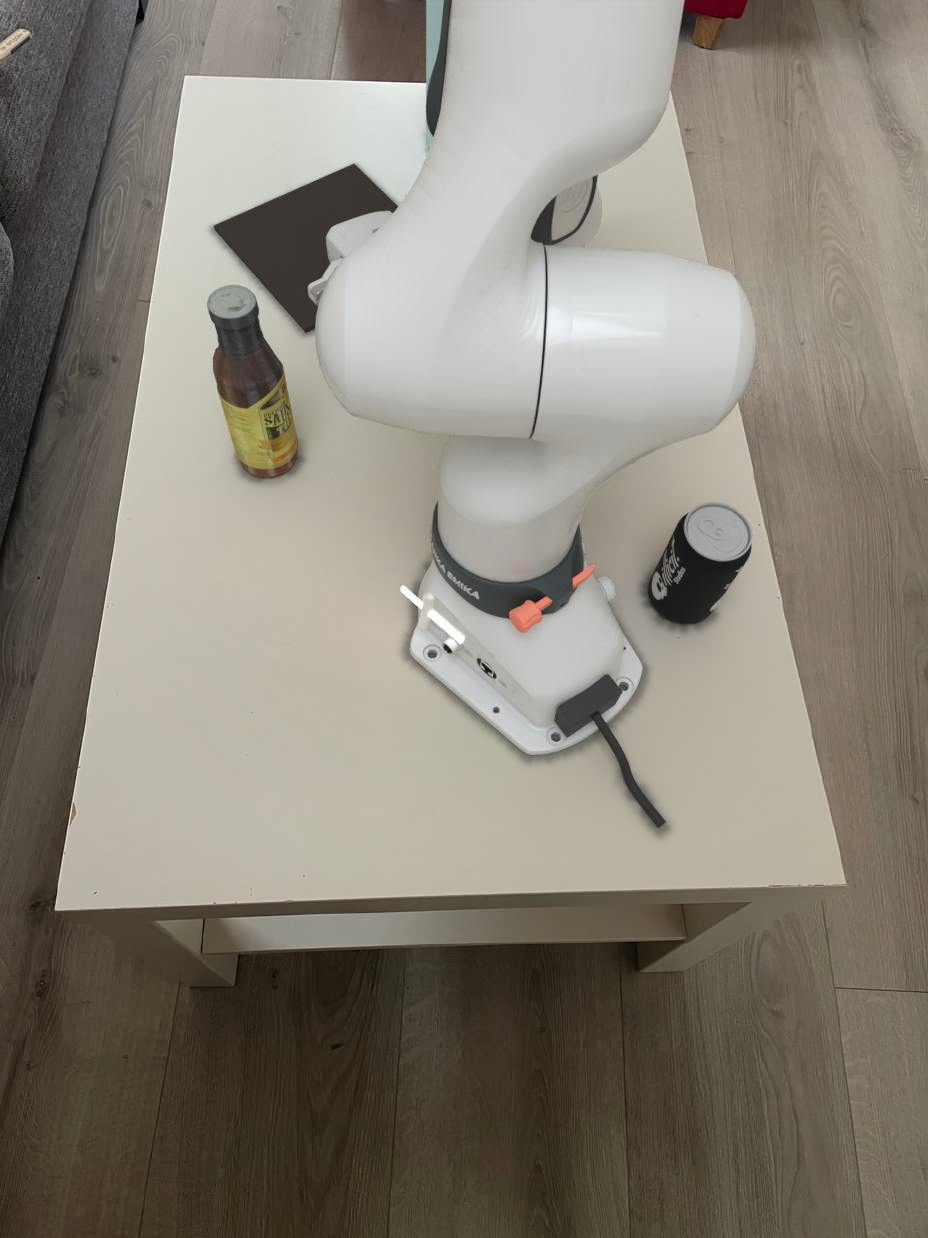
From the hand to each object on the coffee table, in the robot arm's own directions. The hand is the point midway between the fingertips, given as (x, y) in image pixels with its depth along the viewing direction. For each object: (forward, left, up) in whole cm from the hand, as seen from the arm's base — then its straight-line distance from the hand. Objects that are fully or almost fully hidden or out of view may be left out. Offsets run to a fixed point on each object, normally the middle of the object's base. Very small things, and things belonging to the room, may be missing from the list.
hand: (339, 327), depth 80 cm
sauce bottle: (0, +10, -12) cm, 15 cm away
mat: (+22, -12, -12) cm, 28 cm away
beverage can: (-37, -13, -12) cm, 41 cm away
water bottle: (+28, -36, -12) cm, 47 cm away
